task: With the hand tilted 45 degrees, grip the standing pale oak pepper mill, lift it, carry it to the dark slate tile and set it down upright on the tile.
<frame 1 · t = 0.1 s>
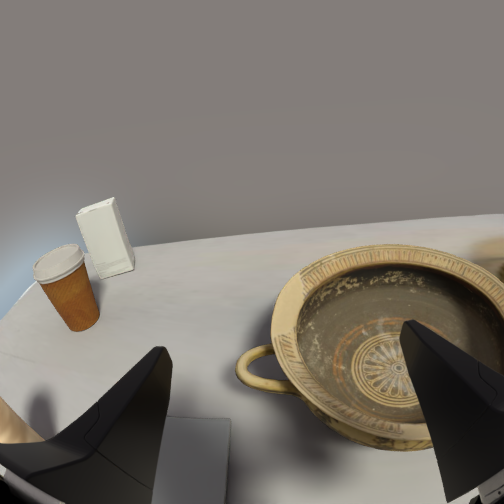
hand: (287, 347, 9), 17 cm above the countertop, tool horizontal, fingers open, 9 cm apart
gold ornate bowl: (392, 380, 24), on the countertop
skincare box: (117, 270, 55), on the countertop
disposable coffee cup: (84, 320, 39), on the countertop
slate tile: (155, 473, 17), on the countertop
oak pepper mill: (46, 464, 15), on the countertop
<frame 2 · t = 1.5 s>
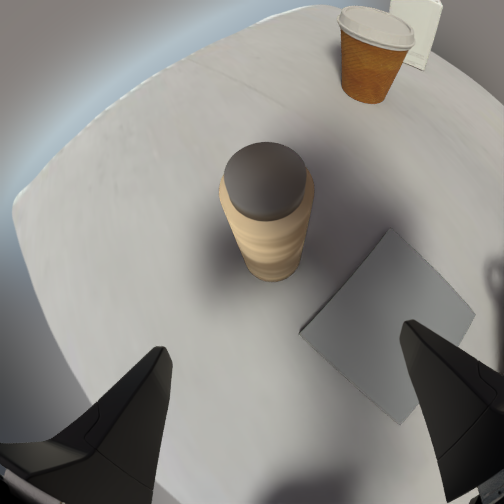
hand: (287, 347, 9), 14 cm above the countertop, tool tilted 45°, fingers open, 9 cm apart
skincare box: (402, 57, 34), on the countertop
disposable coffee cup: (363, 90, 31), on the countertop
slate tile: (399, 326, 22), on the countertop
oak pepper mill: (272, 254, 25), on the countertop
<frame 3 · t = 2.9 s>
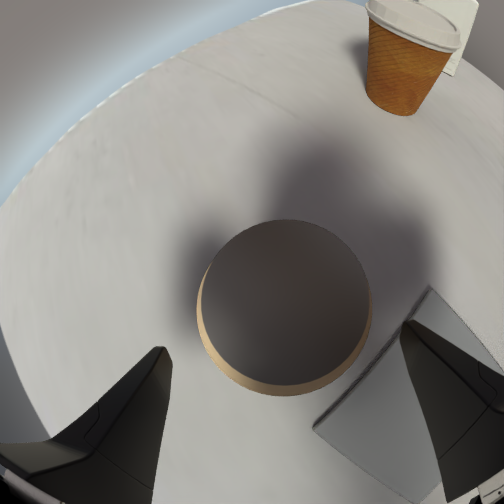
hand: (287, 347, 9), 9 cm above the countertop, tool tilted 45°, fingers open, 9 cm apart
skincare box: (428, 60, 28), on the countertop
disposable coffee cup: (391, 98, 25), on the countertop
slate tile: (430, 409, 15), on the countertop
oak pepper mill: (281, 329, 18), on the countertop
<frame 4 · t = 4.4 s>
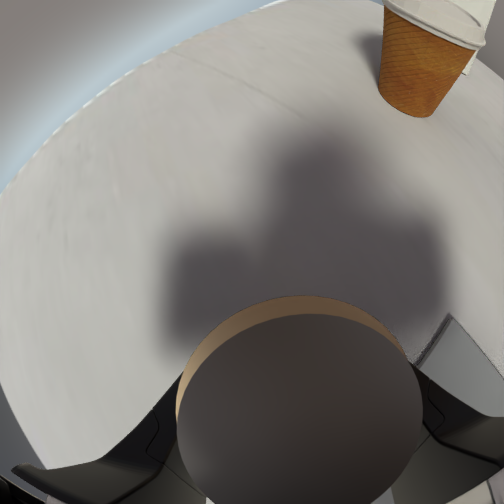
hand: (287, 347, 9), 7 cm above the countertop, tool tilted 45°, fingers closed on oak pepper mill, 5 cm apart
skincare box: (440, 57, 25), on the countertop
disposable coffee cup: (406, 98, 22), on the countertop
slate tile: (442, 443, 12), on the countertop
oak pepper mill: (286, 368, 15), on the countertop, touching gripper
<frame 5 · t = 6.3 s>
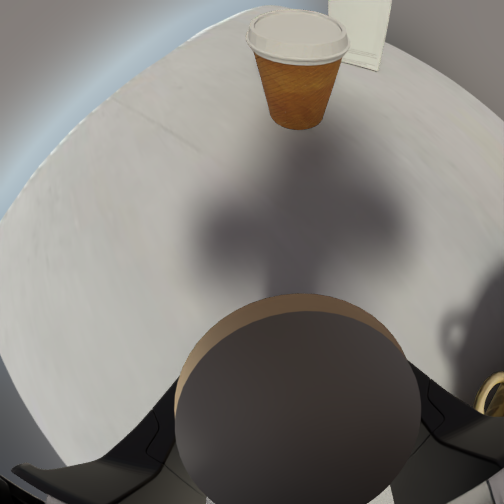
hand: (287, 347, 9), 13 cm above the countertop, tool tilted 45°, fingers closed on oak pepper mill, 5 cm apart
skincare box: (352, 58, 33), on the countertop
disposable coffee cup: (296, 112, 29), on the countertop
oak pepper mill: (285, 367, 15), point 7 cm above the countertop, touching gripper
when the fingers open (8 cm above the countertop, at t = 8.2 s): oak pepper mill drops 1 cm, resting on slate tile.
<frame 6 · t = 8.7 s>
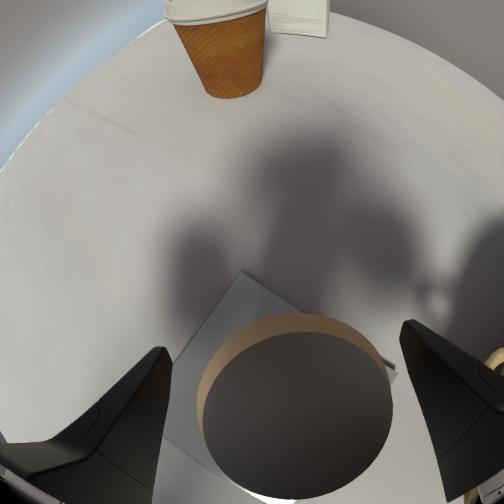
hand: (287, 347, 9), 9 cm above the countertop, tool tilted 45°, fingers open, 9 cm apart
skincare box: (299, 29, 30), on the countertop
disposable coffee cup: (233, 83, 27), on the countertop
slate tile: (265, 404, 16), on the countertop
oak pepper mill: (284, 368, 17), point 1 cm above the countertop, touching slate tile
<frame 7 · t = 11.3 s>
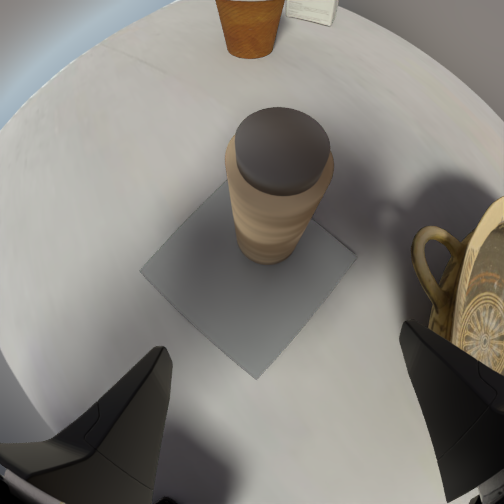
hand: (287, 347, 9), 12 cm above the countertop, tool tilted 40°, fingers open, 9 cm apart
gold ornate bowl: (471, 340, 21), on the countertop
skincare box: (309, 17, 34), on the countertop
disposable coffee cup: (250, 48, 31), on the countertop
slate tile: (248, 266, 23), on the countertop
oak pepper mill: (267, 235, 23), point 1 cm above the countertop, touching slate tile
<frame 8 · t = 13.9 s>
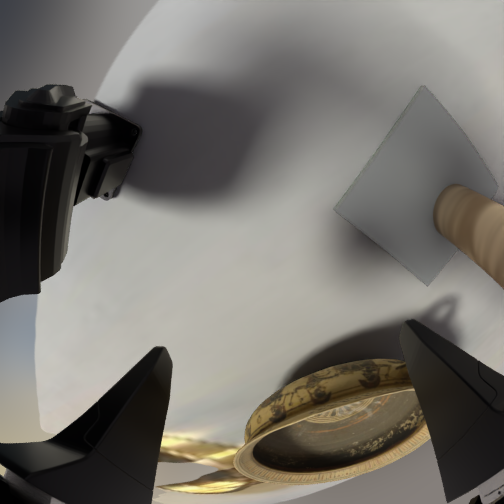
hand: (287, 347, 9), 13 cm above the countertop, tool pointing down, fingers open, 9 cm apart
gold ornate bowl: (334, 386, 31), on the countertop
slate tile: (430, 193, 20), on the countertop
oak pepper mill: (453, 210, 20), point 1 cm above the countertop, touching slate tile
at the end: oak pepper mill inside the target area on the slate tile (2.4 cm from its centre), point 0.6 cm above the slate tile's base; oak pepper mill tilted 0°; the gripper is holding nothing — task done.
